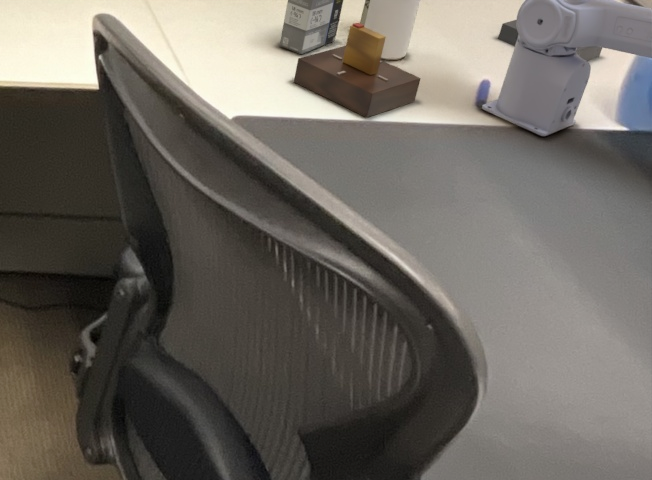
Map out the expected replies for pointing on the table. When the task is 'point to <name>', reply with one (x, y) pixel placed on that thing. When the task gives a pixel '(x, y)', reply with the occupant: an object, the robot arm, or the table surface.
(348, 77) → the plate
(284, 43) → the tape cartridge
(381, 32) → the can
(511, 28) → the dark grey rectangular block
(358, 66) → the thumbturn
